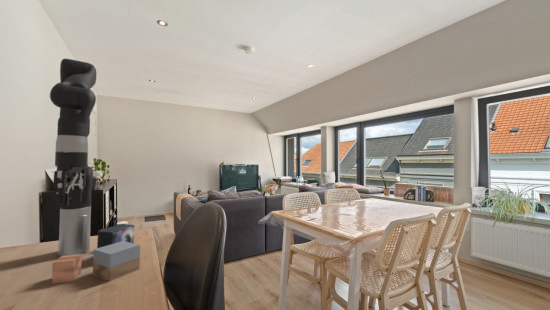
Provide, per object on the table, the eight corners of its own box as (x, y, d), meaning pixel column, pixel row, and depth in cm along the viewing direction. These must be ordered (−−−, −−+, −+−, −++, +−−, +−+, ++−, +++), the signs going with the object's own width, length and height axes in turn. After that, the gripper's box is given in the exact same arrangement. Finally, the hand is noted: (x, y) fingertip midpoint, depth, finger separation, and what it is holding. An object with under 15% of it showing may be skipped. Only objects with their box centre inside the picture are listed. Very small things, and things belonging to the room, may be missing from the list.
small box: (110, 262, 82) (111, 231, 82) (95, 260, 83) (96, 230, 84) (134, 251, 92) (135, 224, 93) (120, 249, 94) (121, 223, 94)
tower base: (92, 275, 72) (93, 262, 72) (122, 264, 80) (122, 252, 81) (110, 282, 68) (110, 268, 69) (139, 269, 77) (139, 257, 77)
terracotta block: (61, 275, 72) (61, 256, 72) (80, 273, 73) (81, 254, 74) (51, 283, 67) (52, 262, 67) (73, 281, 69) (73, 260, 69)
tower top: (93, 262, 73) (93, 249, 73) (122, 252, 81) (122, 240, 81) (110, 268, 69) (110, 254, 69) (139, 257, 77) (139, 244, 77)
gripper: (68, 151, 77) (66, 201, 77) (42, 149, 64) (40, 209, 63) (95, 152, 80) (94, 200, 79) (76, 150, 66) (74, 207, 66)
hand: (70, 204), depth 71 cm, fingers open, 8 cm apart
